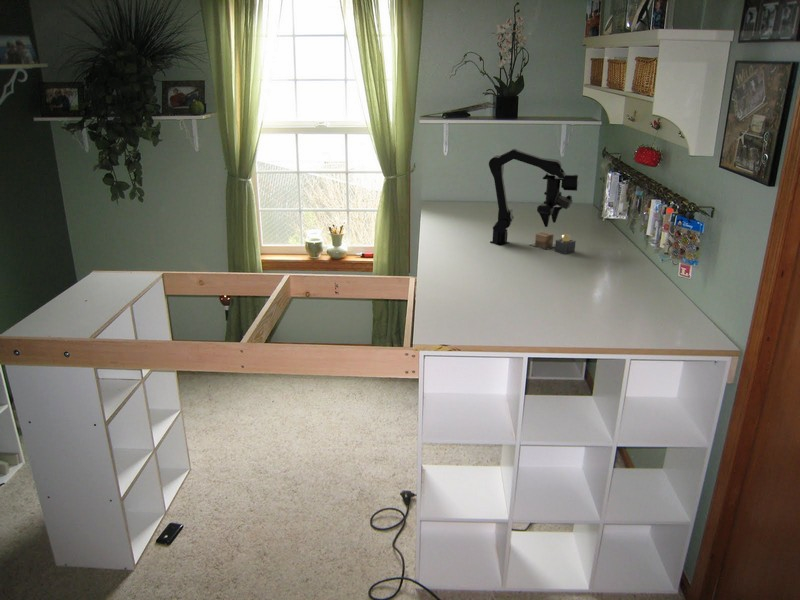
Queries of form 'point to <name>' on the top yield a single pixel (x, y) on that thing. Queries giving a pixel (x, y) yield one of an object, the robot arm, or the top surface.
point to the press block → (565, 246)
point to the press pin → (565, 237)
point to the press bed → (543, 247)
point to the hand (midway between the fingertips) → (550, 224)
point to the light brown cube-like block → (544, 239)
